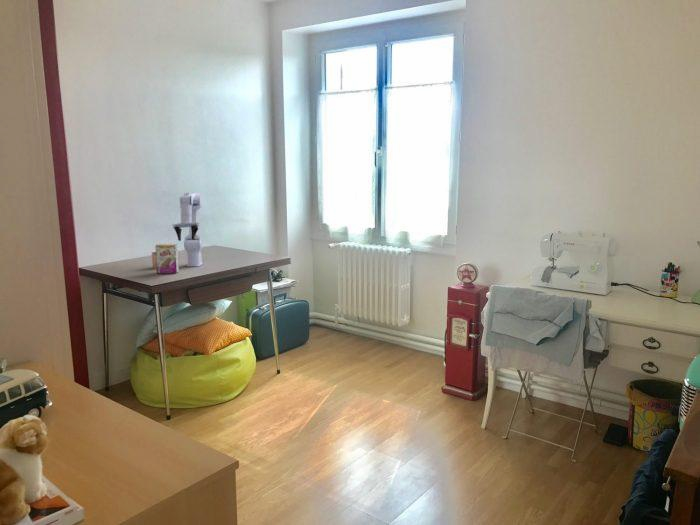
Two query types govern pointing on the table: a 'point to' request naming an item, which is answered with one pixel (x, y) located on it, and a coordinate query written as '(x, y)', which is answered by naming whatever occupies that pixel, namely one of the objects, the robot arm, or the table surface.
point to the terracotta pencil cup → (154, 260)
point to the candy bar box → (167, 258)
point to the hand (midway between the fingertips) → (186, 239)
